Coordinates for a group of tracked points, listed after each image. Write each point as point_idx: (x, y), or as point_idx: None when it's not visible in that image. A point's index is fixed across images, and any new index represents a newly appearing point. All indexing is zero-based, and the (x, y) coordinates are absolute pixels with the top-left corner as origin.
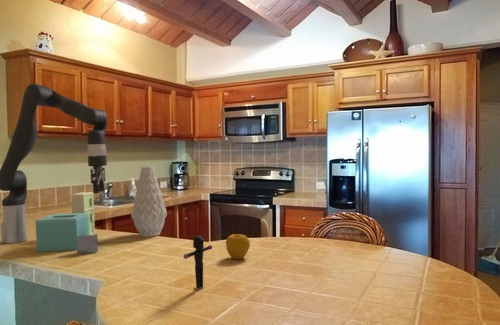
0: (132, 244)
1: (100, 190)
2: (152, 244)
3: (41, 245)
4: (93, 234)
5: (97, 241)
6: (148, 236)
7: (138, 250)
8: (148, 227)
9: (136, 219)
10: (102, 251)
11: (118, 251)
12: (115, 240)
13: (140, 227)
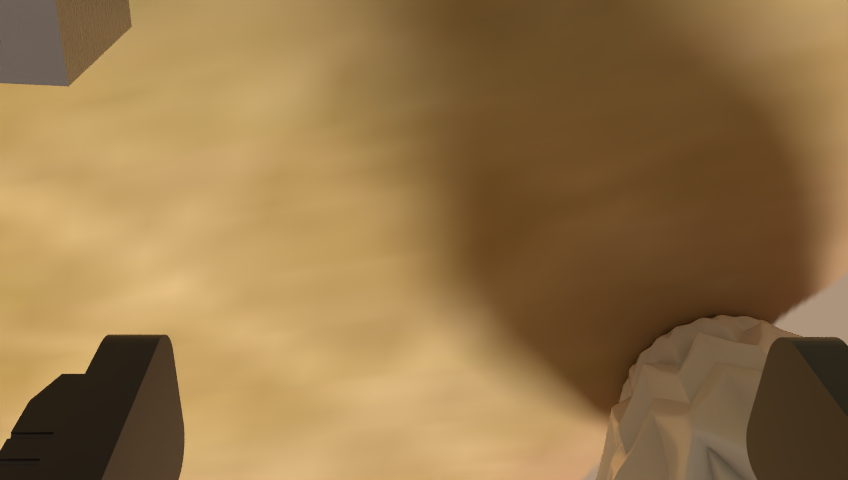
0: (357, 294)
1: (780, 390)
2: (312, 436)
3: None
4: (55, 39)
5: (93, 58)
6: (624, 386)
7: None
8: (602, 460)
9: (672, 428)
10: (117, 75)
11: (100, 222)
12: (607, 107)
13: (647, 393)
